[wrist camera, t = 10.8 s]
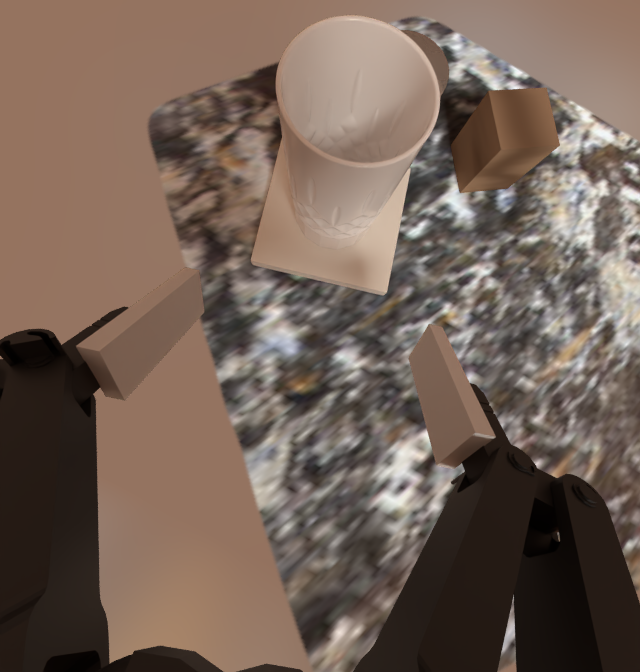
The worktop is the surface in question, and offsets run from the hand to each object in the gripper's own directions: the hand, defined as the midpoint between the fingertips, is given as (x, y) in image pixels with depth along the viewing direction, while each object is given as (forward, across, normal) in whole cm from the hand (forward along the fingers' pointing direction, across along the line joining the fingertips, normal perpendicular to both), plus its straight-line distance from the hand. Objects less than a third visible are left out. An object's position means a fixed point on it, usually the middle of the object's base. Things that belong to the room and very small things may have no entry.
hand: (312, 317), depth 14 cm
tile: (+13, 0, +2) cm, 13 cm away
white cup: (+12, 0, +3) cm, 12 cm away
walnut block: (+19, +13, +9) cm, 25 cm away
